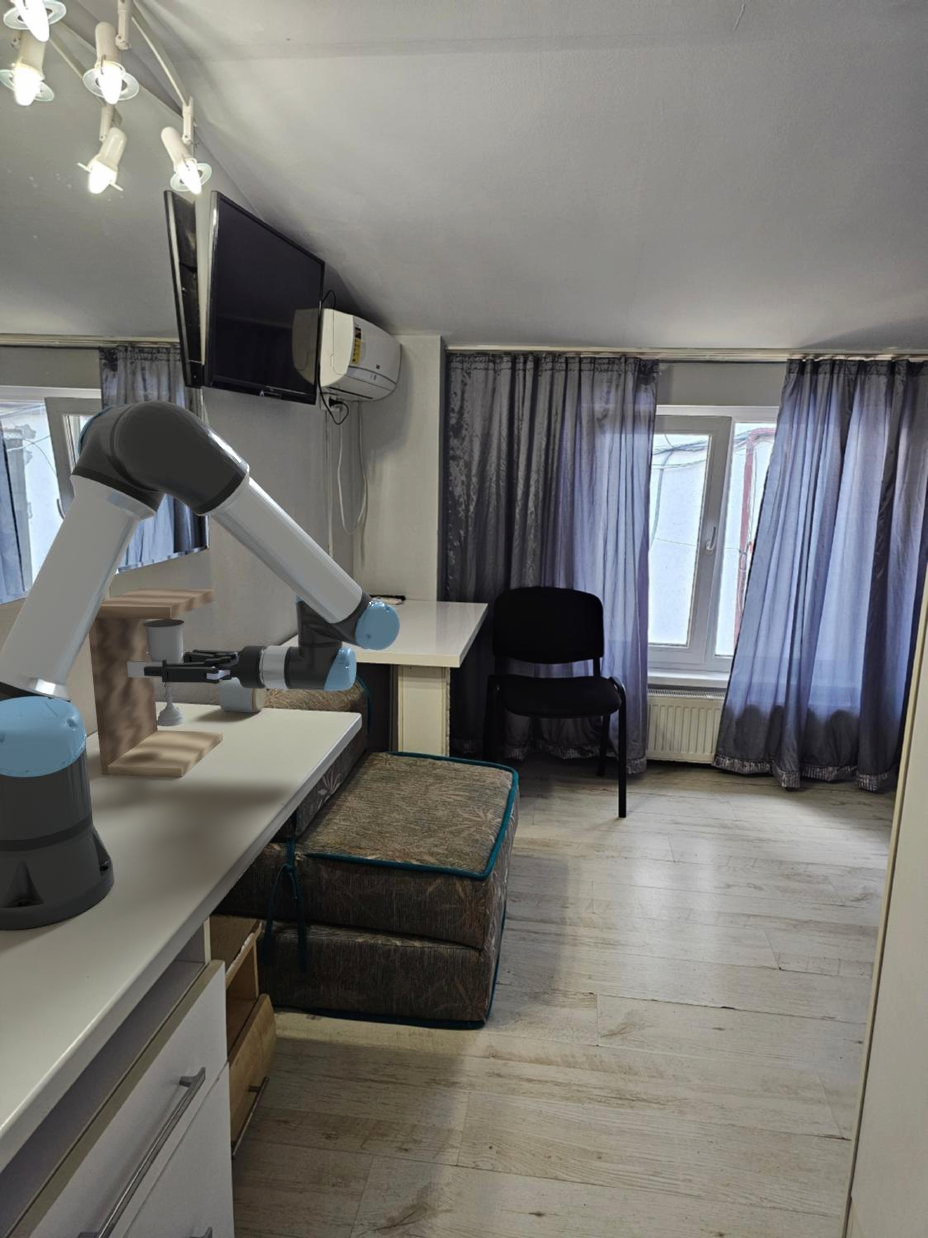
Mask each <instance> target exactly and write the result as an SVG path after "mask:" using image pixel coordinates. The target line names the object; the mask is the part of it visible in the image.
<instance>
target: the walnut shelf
mask: <svg viewBox="0 0 928 1238" xmlns="http://www.w3.org/2000/svg"><path fill="white" fill-rule="evenodd" d="M215 600H216V599H215V589H199V588H198V589H197V588H196V589H195V588H193V589H192V588H191V589H190V588H187V589H186V588H185V589H183V588H138V589H134V590H132V591H128V592H125V593H122V594H119V595H116V596H112V597H110V598H106V599H104V600H103V602H102V604H101V606H100V609H99V611H98V613H97V615H96V617H95V619H94V622H93V624H92V626H91V628H90V630H89V633H88V638H89V640H88V641H89V650H90V651H89V652H90V661H91V663H90V664H91V672H92V683H93V684H92V685H93V693H94V695H93V696H94V704H95V705H94V706H95V715H96V716H95V717H96V724H97V728H96V729H97V736H98V746H99V747H98V748H99V749H98V750H99V757H100V769H101V775H116V776H117V775H119V776H120V775H121V776H122V775H123V776H143V777H144V776H147V777H176V778H178V777H179V778H182V777H184V776H185V775H186V774H187V773H188V772H189V771H190V770H192V768H194V766H196V765H197V764H198V763H199V762H200V761H201V760H202V759H203V758H205V757H206V755H208V754H209V753H210V752H211V751H212V750H213V749H214V748H216V747H217V746H218V745H219V744H220V743H221V742H222V741H223V740H224V737H223V736H224V735H223V734H224V733H223V731H197V730H196V731H195V730H193V731H192V730H167V729H165V730H164V729H163V730H161V729H158V725H156V722H157V720H158V717H157V707H156V706H157V705H156V703H157V702H156V693H155V692H156V691H155V690H156V689H155V680H154V679H155V678H139V677H128V666H127V662H128V661H147V654H146V653H147V652H148V646H147V634H146V629H145V628H144V626H143V624H144V623H146V622H149V621H150V620H162V619H176V618H177V617H180V616H182V615H185V614H186V613H189V612H192V611H194V610H195V609H198V608H200V607H203V606H205V605H207V604H210V603H212V602H214V601H215Z"/></svg>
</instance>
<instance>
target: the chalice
mask: <svg viewBox="0 0 928 1238" xmlns="http://www.w3.org/2000/svg"><path fill="white" fill-rule="evenodd" d="M184 624H185V621H184V620H182V619H177V618H173V619H153V620H149V622H146V623H144V624H143V626H144V628H145V629H146V634H147V646H148V653H149V655H150V658H151V660H152V662H162V660H166V662H167V664H174V663H179V662H180V659H181V656H182V653H184V652H183V651H184V640H183V639H184V638H183V637H184V636H183V626H184ZM173 686H174V684H173V682H167V683H165V682H164V685H163V687H164V688H165V691H166V692H165V694H164V696H163V697H164V698H165V699H166V705H165V708H161V709H160V711H159V713H158V714H159V715H158V717H157V722H156V725H157V727H158V726H159V727H175V726H179V725H182V724H185V723H186V721H187V720H186V718H185V717H184V713H182V710H181V709H180V708H179V707H176V706H175V705H174V704H173V698H174V697H175V694H174V693H173V691H172V688H173Z"/></svg>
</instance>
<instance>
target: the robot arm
mask: <svg viewBox="0 0 928 1238" xmlns="http://www.w3.org/2000/svg"><path fill="white" fill-rule="evenodd" d="M83 425H84V426H83V427H82V429H81V431H80V433H79V436H78V439H77V440H78V441H77V454H78V459H77V461H76V463H75V465H74V467H73V470H72V471H71V474H70V476H69V480H70V483H71V485H72V487H73V489H74V492H75V493H74V494H75V495H74V496H73V499H72V501H71V504H70V505H69V507H68V510H67V512H66V513H65V516H64V518H63V520H62V522H61V524H60V527H59V528H58V531H57V533H56V535H55V537H54V540H53V541H52V544H51V546H50V547H49V549H48V552H47V554H46V556H45V558H44V560H43V562H42V565H41V567H40V568H39V571H38V572H37V574H36V577H35V579H34V581H33V583H32V586H31V588H30V590H29V592H28V594H27V596H26V598H25V600H24V602H23V604H22V607H21V609H20V610H19V613H18V614H17V617H16V619H15V621H14V623H13V625H12V627H11V630H10V632H9V634H8V636H7V638H6V640H5V642H4V644H3V646H2V649H1V651H0V930H22V929H30V928H36V927H42V926H46V925H49V924H54V923H57V922H60V921H64V920H66V919H70V918H71V917H73V916H76V915H78V914H80V913H83V912H84V911H86V910H88V909H90V908H91V907H93V906H94V905H96V904H97V903H99V902H100V901H101V900H103V899H104V898H105V897H106V896H107V895H108V893H109V892H110V891H111V890H112V888H113V887H114V884H115V875H114V874H115V872H114V864H113V861H112V857H111V856H110V854H109V852H108V850H107V848H106V846H105V844H104V842H103V840H102V839H101V837H100V834H99V832H98V830H97V829H96V826H95V823H94V819H93V811H92V810H93V809H92V808H93V807H92V798H91V797H92V796H91V790H90V788H91V787H90V776H89V775H90V774H89V768H88V766H89V765H88V755H87V740H88V738H87V733H86V728H85V725H84V721H83V717H82V714H81V712H80V710H79V709H78V708H77V707H76V706H75V705H74V704H72V703H71V700H72V699H73V696H72V694H71V692H70V690H69V687H68V685H67V684H68V683H67V680H68V678H69V676H70V674H71V671H72V669H73V668H74V665H75V663H76V661H77V659H78V657H79V654H80V652H81V649H82V648H83V645H84V644H85V641H86V639H87V636H89V630H90V628H91V626H92V624H93V622H94V619H95V617H96V615H97V613H98V611H99V609H100V606H101V604H102V602H103V600H105V597H106V596H107V594H108V591H109V588H110V587H111V584H112V582H113V580H114V577H116V573H117V572H118V569H119V567H120V565H121V563H122V560H123V558H124V557H125V554H126V552H127V549H128V548H129V546H130V542H132V541H131V540H132V538H133V536H134V534H135V532H136V530H137V527H138V526H139V523H141V522H142V521H145V520H147V519H150V518H153V517H156V514H157V513H158V510H159V509H160V506H161V504H162V501H163V499H164V497H165V496H166V495H168V496H170V497H172V498H174V499H176V500H177V501H179V502H180V503H182V504H183V505H185V506H186V507H187V508H189V509H190V510H191V511H192V512H193V513H194V514H195V515H197V516H198V517H210V518H211V519H212V520H213V521H215V523H217V524H218V525H219V526H220V527H221V528H223V530H224V531H225V532H227V533H228V534H229V535H230V536H232V538H233V539H235V540H236V541H237V542H238V543H239V544H240V545H241V546H242V547H244V548H245V549H246V550H247V551H248V552H249V553H250V554H252V556H253V557H254V558H256V560H257V561H259V562H260V563H261V564H263V566H265V567H266V568H267V569H268V570H269V571H270V572H271V573H272V574H273V575H274V576H275V577H277V579H279V580H280V581H281V582H282V583H284V585H286V586H287V587H288V588H289V589H290V590H291V591H292V592H294V593H295V611H296V623H297V624H296V625H297V626H296V627H297V645H298V646H292V645H268V646H265V645H249V644H248V645H245V646H244V647H243V648H242V649H241V650H218V649H216V650H215V649H197V648H195V649H193V650H192V651H186V652H182V656H181V659H180V662H179V663H174V664H167V662H166V660H162V662H152V660H151V658H150V655H149V653H148V652H147V653H146V654H147V661H128V662H127V666H128V677H139V678H154V679H161V682H162V683H164V684H165V683H167V682H171V683H190V684H191V683H196V684H197V683H198V684H199V683H201V684H206V683H207V684H212V685H217V684H221V683H220V680H221V681H223V680H231V679H232V678H235V677H236V678H238V679H239V681H240V684H241V685H242V687H244V688H250V689H263V688H265V687H266V688H267V690H268V689H269V690H280V692H282V693H285V692H287V690H303V691H321V692H322V691H323V692H328V691H329V692H332V691H333V692H335V691H336V692H337V691H338V692H339V691H347V690H350V689H351V688H352V687H353V685H354V684H355V680H356V677H357V658H356V651H355V650H354V649H353V648H351V647H346V646H344V645H343V643H344V644H345V643H346V644H349V645H353V646H356V647H360V649H364V650H372V651H373V650H374V651H382V650H385V649H387V648H389V647H391V645H393V644H394V642H395V641H396V639H397V637H398V635H399V633H400V627H401V621H400V617H399V614H398V611H397V610H396V609H395V608H394V607H393V606H392V605H390V604H388V603H387V604H386V602H383V601H380V600H375V599H373V598H372V597H371V596H370V595H369V594H368V593H367V592H366V591H365V590H364V589H363V588H362V587H361V586H359V584H358V583H356V581H355V580H354V579H353V578H352V577H350V575H349V574H347V572H346V571H345V570H343V568H342V567H341V566H339V564H338V563H337V562H335V561H334V559H332V558H331V556H329V554H328V553H326V551H325V550H324V549H323V548H322V547H320V545H319V544H317V542H315V541H314V539H313V538H312V537H311V536H310V535H308V533H306V531H304V530H303V528H302V527H301V526H299V524H298V523H296V521H295V520H294V519H293V518H292V517H291V516H290V515H289V514H288V513H287V512H285V510H284V509H283V508H281V506H280V505H279V504H278V503H277V501H275V500H274V499H272V497H271V496H270V495H269V494H268V493H267V492H266V491H265V490H264V489H263V488H262V487H261V486H260V485H259V484H258V483H257V482H256V481H255V480H254V479H253V478H252V477H251V476H250V466H249V463H247V462H246V461H245V460H244V459H243V457H241V456H240V454H239V453H238V452H237V451H235V449H234V448H233V447H232V446H231V445H230V444H229V443H228V442H226V441H225V439H223V438H222V436H220V435H219V434H218V432H216V430H214V429H213V428H212V427H211V426H209V424H207V423H206V422H205V421H204V420H203V419H201V418H200V417H199V416H197V415H196V414H195V413H193V412H192V411H190V410H188V409H187V408H185V407H183V406H181V405H179V404H176V403H174V402H170V401H166V400H159V399H157V400H155V399H154V400H146V401H142V402H138V403H137V402H136V403H119V404H113V405H111V406H107V407H105V408H103V409H102V410H100V411H98V412H97V413H94V415H92V416H91V417H90V418H89V419H88V420H87V421H86V422H85V424H83Z"/></svg>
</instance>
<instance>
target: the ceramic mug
mask: <svg viewBox="0 0 928 1238" xmlns="http://www.w3.org/2000/svg"><path fill="white" fill-rule="evenodd" d="M267 696H268V688H266V687H265V688H263V689H250V688H244V687H242V685H241V684H240V681H239V679H238V678H236V677H235V678H232V679H231V680H221V683H220V686H219V689H218V704H219V707H220V709H221V710H223V711H224V712H236V713H237V712H238V713H258V712H260V711H261V710H262V709H264V707H265V705H266V703H267Z"/></svg>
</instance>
